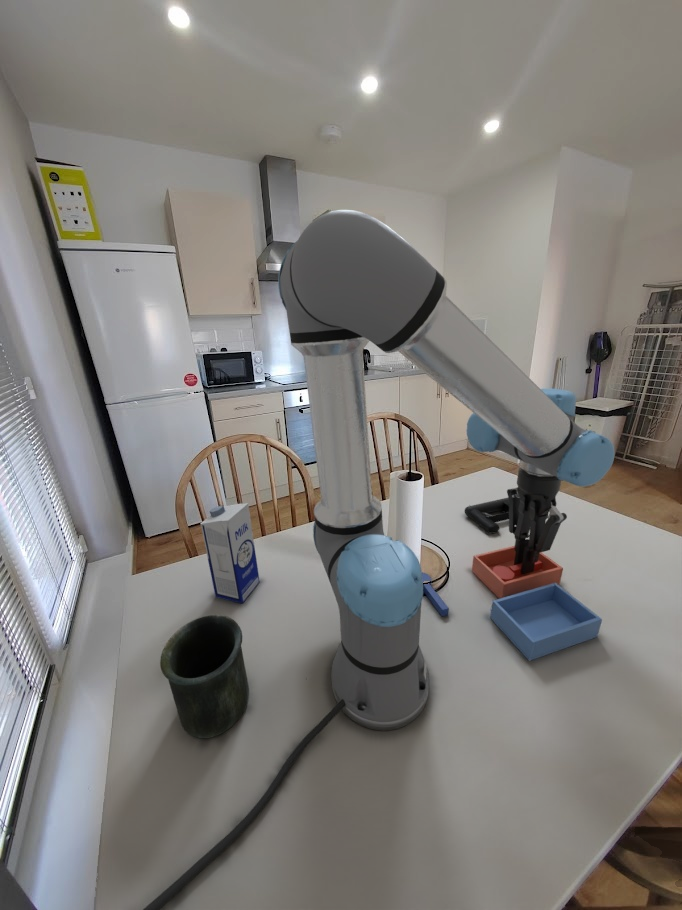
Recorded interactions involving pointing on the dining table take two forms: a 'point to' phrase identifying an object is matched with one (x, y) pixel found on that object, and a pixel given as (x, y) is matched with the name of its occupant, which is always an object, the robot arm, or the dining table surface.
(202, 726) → the dark green pot
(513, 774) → the dining table surface
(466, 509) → the door handle
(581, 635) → the blue bin
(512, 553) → the red bin
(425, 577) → the blue spoon
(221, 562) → the milk carton
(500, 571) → the red spoon
